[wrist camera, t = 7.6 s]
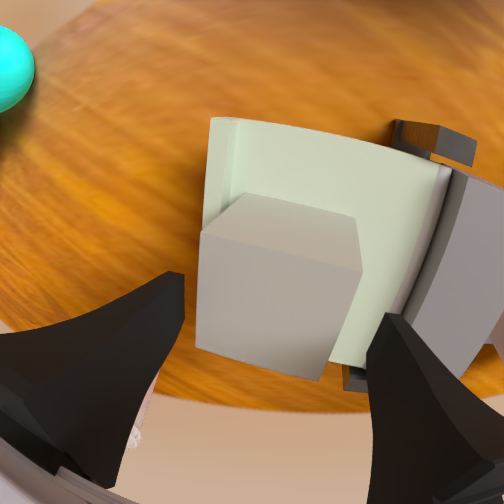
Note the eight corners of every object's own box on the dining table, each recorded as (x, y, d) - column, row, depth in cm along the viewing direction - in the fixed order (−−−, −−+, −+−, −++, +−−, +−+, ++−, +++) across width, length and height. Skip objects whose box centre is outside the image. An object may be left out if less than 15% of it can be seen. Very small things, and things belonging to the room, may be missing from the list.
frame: (430, 130, 14) (480, 142, 9) (365, 332, 21) (375, 393, 16) (394, 118, 15) (435, 124, 9) (336, 328, 22) (340, 390, 16)
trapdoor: (511, 191, 11) (545, 212, 8) (436, 357, 17) (445, 396, 14) (236, 116, 14) (209, 117, 11) (218, 308, 20) (196, 343, 17)
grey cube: (355, 217, 13) (363, 272, 8) (327, 308, 15) (318, 381, 11) (246, 192, 14) (200, 232, 9) (234, 284, 16) (195, 346, 11)
